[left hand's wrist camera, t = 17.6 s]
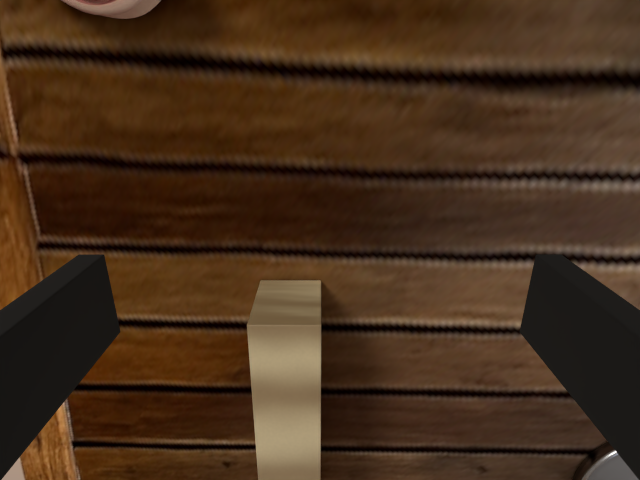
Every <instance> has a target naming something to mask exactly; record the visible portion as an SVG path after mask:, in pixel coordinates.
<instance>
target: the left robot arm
mask: <svg viewBox="0 0 640 480" xmlns="http://www.w3.org/2000/svg"><path fill="white" fill-rule="evenodd" d="M119 333H120V328H119V323H118V319H117V314H116V309H115V304H114V300H113V295H112V290H111V285H110V281H109V276H108V271H107V266H106V262H105V257H104V255H78V256H76V257H75V258H73V259H72V260H71V261H69V262H68V263H66V264H65V265H64V266H62V267H61V268H59V269H58V270H57V271H55V272H54V273H52V274H51V275H49V276H48V277H47V278H45V279H44V280H42V281H41V282H40V283H38V284H37V285H35V286H34V287H33V288H31V289H30V290H28V291H27V292H25V293H24V294H23V295H21V296H20V297H18V298H17V299H16V300H14V301H13V302H11V303H10V304H9V305H7V306H6V307H4V308H3V309H1V310H0V480H1V479H2V478H3V477H4V476H5V474H6V473H7V472H8V471H9V469H10V468H11V467H12V466H13V464H14V463H15V462H16V461H17V459H18V458H19V457H20V456H21V455H22V453H23V452H24V451H25V450H26V448H27V447H28V446H29V445H30V443H31V442H32V441H33V440H34V438H35V437H36V436H37V435H38V433H39V432H40V431H41V430H42V428H43V427H44V426H45V425H46V423H47V422H48V421H49V420H50V418H51V417H52V416H53V415H54V414H55V412H56V411H57V410H58V409H59V407H60V406H61V405H62V404H63V402H64V401H65V400H66V399H67V397H68V396H69V395H70V394H71V392H72V391H73V390H74V389H75V387H76V386H77V385H78V384H79V382H80V381H81V380H82V379H83V378H84V376H85V375H86V374H87V373H88V371H89V370H90V369H91V368H92V366H93V365H94V364H95V363H96V361H97V360H98V359H99V358H100V356H101V355H102V354H103V353H104V351H105V350H106V349H107V348H108V346H109V345H110V344H111V343H112V342H113V340H114V339H115V338H116V337H117V335H118V334H119ZM520 333H521V334H522V335H523V337H524V338H525V339H526V340H527V342H528V343H529V344H530V345H531V346H532V348H533V349H534V350H535V351H536V353H537V354H538V355H539V356H540V358H541V359H542V360H543V361H544V363H545V364H546V365H547V366H548V368H549V369H550V370H551V371H552V373H553V374H554V375H555V376H556V378H557V379H558V380H559V381H560V382H561V384H562V385H563V386H564V387H565V389H566V390H567V391H568V392H569V394H570V395H571V396H572V397H573V399H574V400H575V401H576V402H577V404H578V405H579V406H580V407H581V409H582V410H583V411H584V412H585V414H586V415H587V416H588V417H589V418H590V420H591V421H592V422H593V423H594V425H595V426H596V427H597V428H598V430H599V431H600V432H601V433H602V435H603V436H604V437H605V438H606V440H607V441H608V442H609V443H610V445H611V446H612V447H613V448H614V450H615V451H616V452H617V453H618V455H619V456H620V457H621V458H622V459H623V461H624V462H625V463H626V464H627V466H628V467H629V468H630V469H631V471H632V472H633V473H634V474H635V476H636V477H637V478H638V479H639V480H640V310H639V309H637V308H636V307H634V306H633V305H631V304H630V303H629V302H627V301H626V300H624V299H623V298H622V297H620V296H619V295H617V294H616V293H615V292H613V291H612V290H610V289H609V288H607V287H606V286H605V285H603V284H602V283H600V282H599V281H598V280H596V279H595V278H593V277H592V276H591V275H589V274H588V273H586V272H585V271H583V270H582V269H581V268H579V267H578V266H576V265H575V264H574V263H572V262H571V261H569V260H568V259H567V258H565V257H564V256H562V255H536V257H535V262H534V266H533V271H532V276H531V281H530V285H529V290H528V295H527V300H526V304H525V309H524V314H523V319H522V323H521V328H520Z"/></svg>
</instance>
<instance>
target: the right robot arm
mask: <svg viewBox="0 0 640 480" xmlns="http://www.w3.org/2000/svg"><path fill="white" fill-rule="evenodd" d="M573 480H639V479H638V478H637V477H636V476H635V474H634V473H633V472H632V471H631V469H630V468H629V467H628V466H627V464H626V463H625V462H624V461H623V459H622V458H621V457H620V456H619V455H618V453H617V452H616V451H615V450H614V448H613V447H612V446H611V445H610V443H609V442H607V443H605V444H604V445H602V446H600V447H599V448H597V449H596V450H595V451H593V452H592V453H591V454H590V455H589V456H588V457H587V458H586V459H585V460H584V461H583V462H582V463H581V464H580V466H579V467H578V469H577V471H576V473H575V475H574V477H573Z"/></svg>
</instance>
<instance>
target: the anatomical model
mask: <svg viewBox="0 0 640 480" xmlns="http://www.w3.org/2000/svg"><path fill="white" fill-rule="evenodd" d="M61 1H63V2H65V3H66V4H68V5H70V6H72V7H74V8H76V9H78V10H80V11H83V12H86V13H90V14H94V15H102V16H106V17H111V18H119V19H128V18H135V17H139V16H142V15H144V14H146V13H147V12H149V11H150V10H151V9H153V8H154V7H155V6H156V5H157V4H158V3H159V2H160V1H161V0H61Z"/></svg>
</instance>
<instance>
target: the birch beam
mask: <svg viewBox="0 0 640 480" xmlns="http://www.w3.org/2000/svg"><path fill="white" fill-rule="evenodd" d="M247 332H248V346H249V360H250V373H251V387H252V400H253V414H254V428H255V441H256V455H257V468H258V480H321V281H320V280H261V281H260V284H259V287H258V291H257V294H256V297H255V301H254V304H253V307H252V311H251V314H250V317H249V321H248V324H247Z"/></svg>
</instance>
